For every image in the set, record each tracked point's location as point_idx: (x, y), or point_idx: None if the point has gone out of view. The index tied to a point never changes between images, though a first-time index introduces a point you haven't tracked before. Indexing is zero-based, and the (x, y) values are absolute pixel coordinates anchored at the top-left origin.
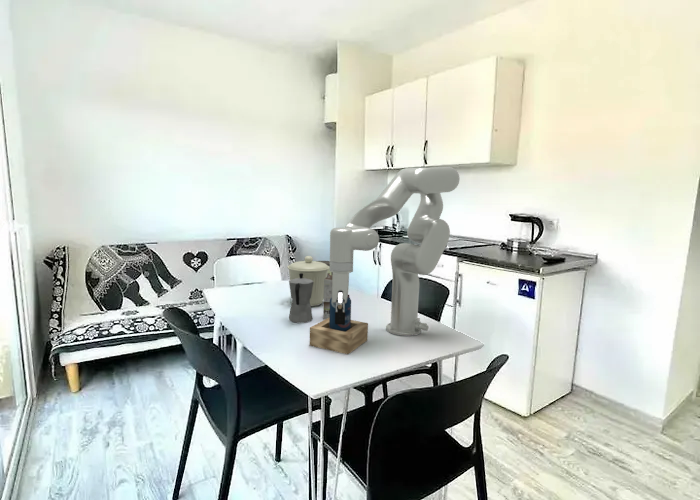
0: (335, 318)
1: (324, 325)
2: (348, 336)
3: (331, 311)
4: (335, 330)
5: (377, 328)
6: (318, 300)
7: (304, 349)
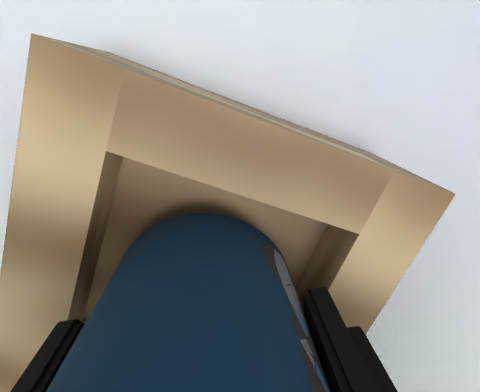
0: (29, 373)
1: (184, 174)
2: None
3: (56, 385)
4: (56, 293)
5: (447, 366)
6: None
7: (27, 30)
